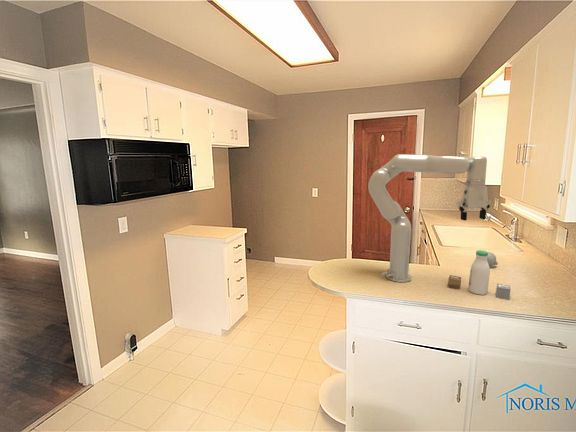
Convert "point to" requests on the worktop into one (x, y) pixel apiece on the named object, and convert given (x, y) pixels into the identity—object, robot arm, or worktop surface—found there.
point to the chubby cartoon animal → (491, 260)
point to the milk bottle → (479, 274)
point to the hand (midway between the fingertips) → (473, 219)
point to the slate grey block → (503, 291)
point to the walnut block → (454, 282)
